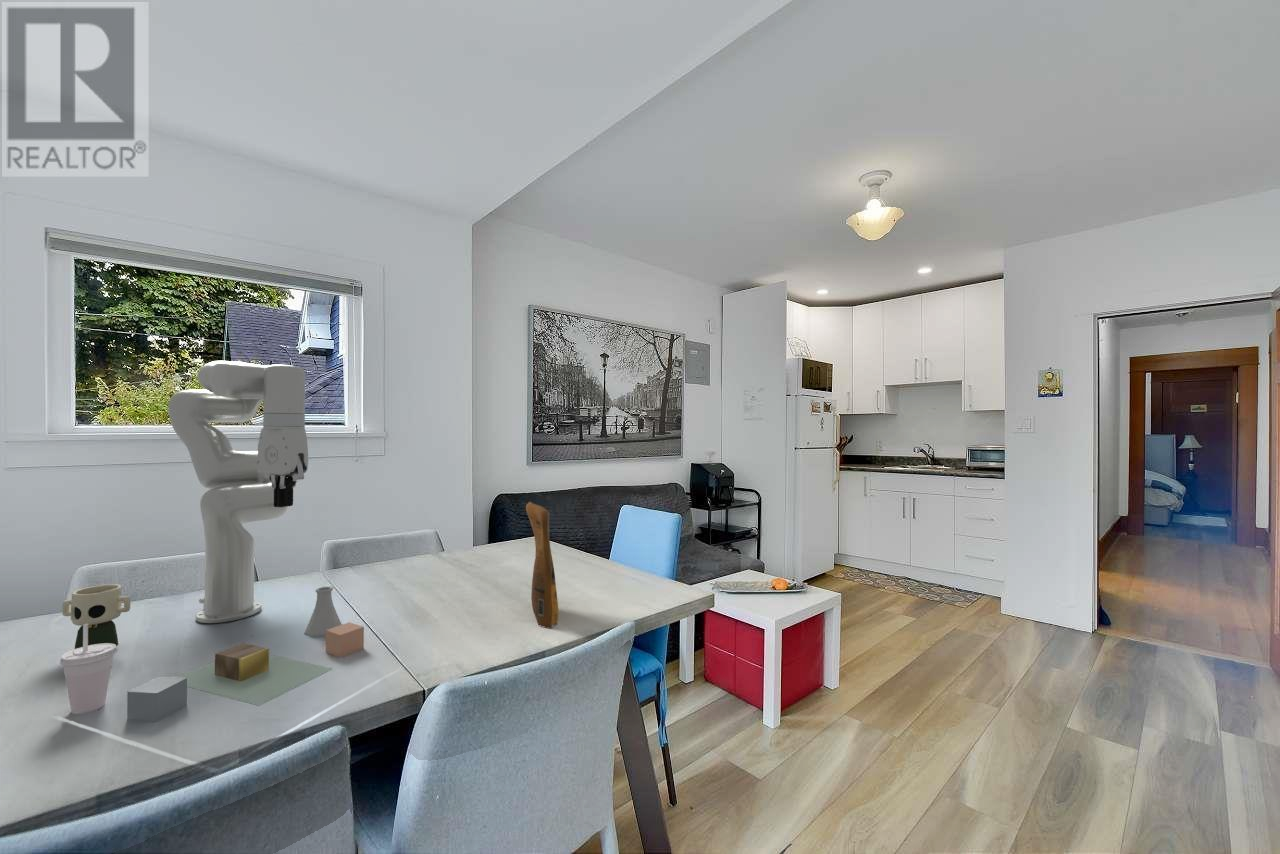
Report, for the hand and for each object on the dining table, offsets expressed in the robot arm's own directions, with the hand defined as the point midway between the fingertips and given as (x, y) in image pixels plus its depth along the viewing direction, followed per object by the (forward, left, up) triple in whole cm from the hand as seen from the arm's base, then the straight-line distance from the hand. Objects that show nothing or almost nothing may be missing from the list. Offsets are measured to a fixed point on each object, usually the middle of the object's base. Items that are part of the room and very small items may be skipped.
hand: (283, 506), depth 114 cm
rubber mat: (+11, -14, -29) cm, 34 cm away
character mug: (-28, -18, -29) cm, 44 cm away
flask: (+5, +6, -29) cm, 30 cm away
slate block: (+10, -28, -29) cm, 42 cm away
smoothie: (-2, -31, -29) cm, 43 cm away
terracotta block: (+18, 0, -29) cm, 34 cm away
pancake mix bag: (+46, +32, -29) cm, 63 cm away
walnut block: (+12, -14, -27) cm, 32 cm away
